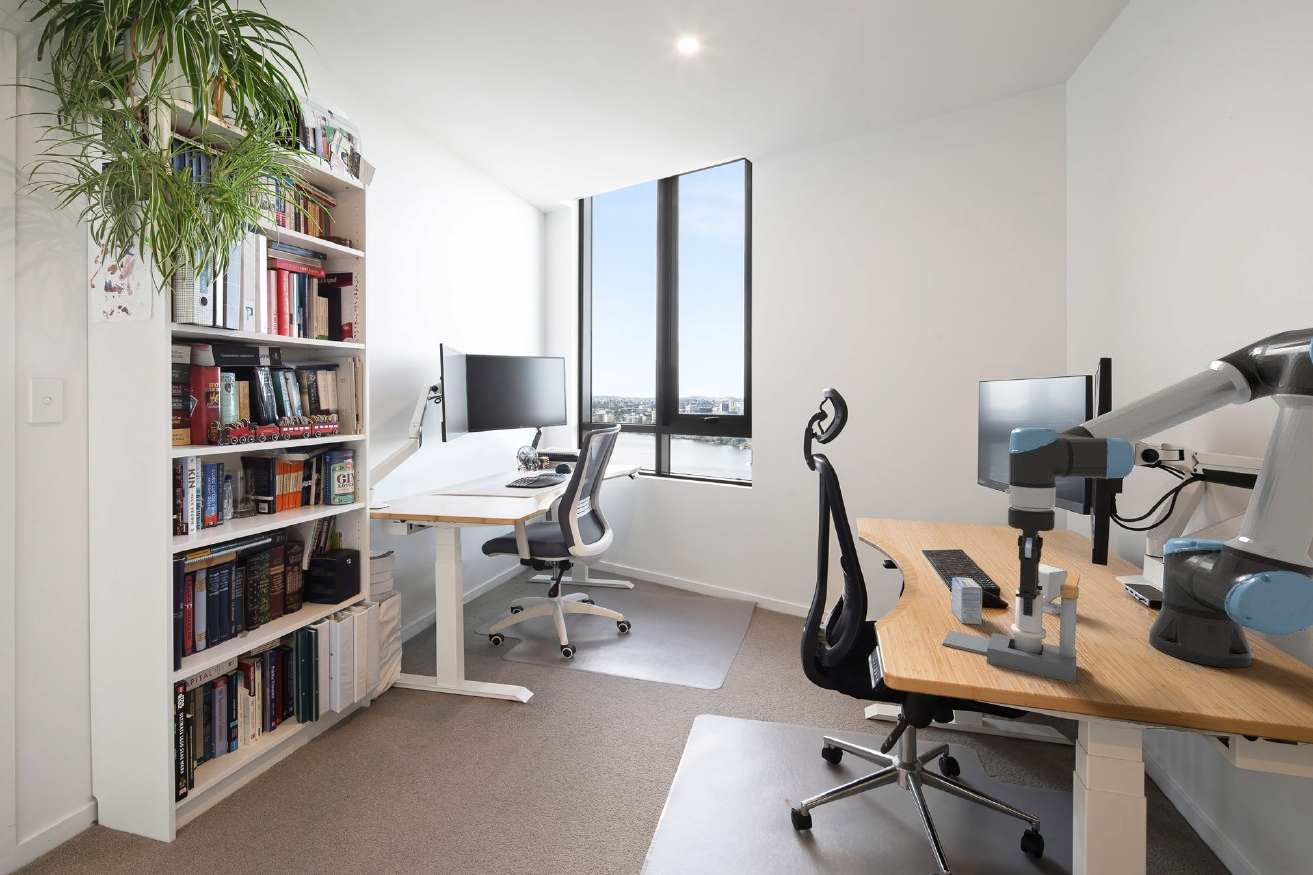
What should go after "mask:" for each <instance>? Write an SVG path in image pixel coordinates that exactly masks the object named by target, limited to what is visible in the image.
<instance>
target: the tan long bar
mask: <svg viewBox="0 0 1313 875" xmlns="http://www.w3.org/2000/svg"><path fill="white" fill-rule="evenodd" d="M1080 576H1081V574H1080V573H1078V572H1073V571H1068V576H1067V579H1066V582H1065V585H1060V596H1062V597H1065V598H1069V599H1077V600H1078V599H1079V595H1080V594H1079V592H1080V591H1079V590H1080V588H1079V583H1080Z"/></svg>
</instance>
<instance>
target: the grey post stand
mask: <svg viewBox="0 0 1313 875" xmlns="http://www.w3.org/2000/svg"><path fill="white" fill-rule="evenodd" d="M1060 604H1061V613H1060V617H1059V618H1060V619H1059V620H1060V621H1059V622H1060V623H1059V638H1058V639H1059V641H1058V642H1059V644H1058V645H1055V644H1054V645H1053V644H1048V643H1044V642H1042V653H1041V654H1040V655H1038V654H1033V653H1028V652H1024V651H1019V650H1016V649H1015V636H1010V635H1005V634H1000V633H996V632H992V634H991V637H990V638H989V639H990V642H989V645H988V647H987V655H986V664H991V665H995V666H1000V667H1002V668H1008V669H1012V670H1016V671H1019V672H1024V673H1030V674H1034V675H1038V676H1043V677H1046V678H1051V679H1055V680H1059V681H1063V682H1069V683H1072V684H1076V682H1077V649H1076V630H1077V628H1076V627H1077V611H1078V610H1077V608H1078V606H1077V605H1078V599H1069V598H1065V597H1062V596H1061V598H1060Z"/></svg>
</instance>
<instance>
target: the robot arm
mask: <svg viewBox="0 0 1313 875" xmlns="http://www.w3.org/2000/svg"><path fill="white" fill-rule="evenodd" d="M1270 396H1271V397H1270ZM1265 397H1270V398H1271V399H1272V400H1273V401H1274V403H1276V404H1277V406H1278V408H1279V411H1278V413H1277V417H1276V421H1275V423H1274V426H1273V429H1272V432H1271V435H1270V438H1269V441H1268V445H1267V447H1266V449H1265V450H1266V451H1265V453H1264V456H1263V460H1262V462H1261V466H1260V468H1259V472H1258V474H1257V478H1256V480H1255V484H1254V487H1253V490H1252V492H1251V495H1250V499H1249V501H1248V505H1247V508H1246V511H1245V515H1244V517H1243V520H1242V523H1241V526H1240V528H1239V529H1240V530H1239V532H1238V535H1236V537H1234V538H1233V537H1232V538H1231V539H1229V540H1218V539H1206V538H1205V539H1204V538H1189V537H1188V538H1187V537H1184V538H1183V537H1175V538H1174V537H1173V538H1170V539H1168V540H1167V541H1166V543H1165V547H1164V551H1163V552H1164V553H1163V577H1162V579H1163V580H1162V602H1161V609H1160V611H1159V612H1158V614H1157V616H1156V618H1155V619H1154V622H1153V624H1152V626H1151V627H1150V630H1149V634H1148V635H1149V638H1148V641H1149V644H1150V645H1151V646H1152V647H1154V648H1155V649H1156V650H1158V651H1161V652H1162V653H1164V654H1167V655H1170V656H1173V657H1175V658H1178V659H1180V660H1185V661H1188V662H1191V663H1195V664H1196V663H1197V664H1200V665H1205V666H1211V667H1217V668H1218V667H1219V668H1226V669H1227V668H1229V669H1230V668H1231V669H1239V668H1240V669H1242V668H1247V667H1249V666H1251V665H1252V659H1253V658H1252V655H1253V652H1252V649H1251V647H1250V644H1249V641H1248V638H1247V635H1246V633H1245V630H1244V628H1248V629H1252V630H1253V631H1256V632H1258V633H1262V634H1264V635H1265V634H1266V635H1270V636H1271V635H1272V636H1287V635H1288V636H1289V635H1294V634H1295V633H1298V632H1301V631H1305V630H1307V629H1309V628H1310V627H1311V626H1313V559H1312V558H1311V557H1310V555H1309V553H1308V552H1309V550H1310V549H1309V548H1310V547H1311V543H1312V540H1313V327H1309V328H1302V329H1295V330H1294V329H1293V330H1288V331H1282V332H1278V333H1275V334H1271V335H1270V336H1266V337H1264V338H1262V339H1260V340H1257V341H1255V342H1253V343H1250V344H1249V345H1246V346H1244V347H1242V348H1239V349H1238V350H1235V351H1233V352H1231V353H1228V354H1227V355H1225V356H1223V357H1220V358H1217V359H1216V360H1213V361H1212V362H1209V364H1208V365H1207V366H1206V369H1205V370H1203V371H1201V372H1199V373H1197V374H1194V375H1191V376H1189V377H1187V378H1185V379H1183V380H1181V381H1178V382H1176V383H1173V384H1172V385H1168V386H1166V387H1164V388H1162V389H1159V390H1156V391H1155V392H1152V393H1150V394H1147V395H1146V396H1143V397H1140V398H1139V399H1136V400H1134V401H1132V402H1129V403H1127V404H1124V405H1122V406H1120V407H1118V408H1115V409H1113V410H1110V411H1109V412H1108V411H1107V413H1103V414H1101V415H1099V416H1097V417H1094V418H1092V419H1090V420H1087V421H1085V422H1083V423H1081V424H1078V425H1076V426H1073V427H1071V428H1068V429H1067V430H1064V431H1062V432H1057V430H1056V429H1055V428H1053V427H1034V426H1033V427H1027V426H1026V427H1016V428H1014V429H1013V430H1012V431H1011V432H1010V437H1009V438H1010V439H1009V446H1008V457H1009V458H1008V461H1009V462H1008V464H1009V467H1008V471H1009V472H1008V474H1009V475H1008V479H1009V480H1008V487H1009V488H1006V489H1005V490H1004V493H1005V494H1006V495H1009V496H1008V504H1009V505H1010V506H1009V508H1007V509H1008V510H1007V524H1008V526H1009V527H1010V528H1012V529H1016V530H1021V531H1022V534H1021V535H1020V534H1019V535H1018V537H1017V547H1018V560H1019V562H1020V563H1019V564H1020V565H1019V567H1020V568H1019V571H1020V573H1019V587H1020V592H1019V594H1018V593H1016V592H1015V598H1016V597H1020V612H1019V630H1022V631H1027V632H1033V633H1036V617H1037V595H1036V589H1039V590H1041V591H1042V586H1038V584H1039V580H1038V576H1039V564H1040V562H1041V558H1042V549H1043V547H1044V546H1043V544H1044V538H1043V537H1041V535H1040V534H1039V532H1050V531H1053V530H1054V529H1055V524H1056V523H1055V522H1056V521H1055V520H1056V518H1055V517H1056V516H1055V515H1056V512H1055V511H1054V510H1053V509H1054V508H1055V507H1056V498H1057V497H1056V496H1057V495H1056V494H1057V493H1056V492H1057V491H1056V490H1057V489H1056V488H1057V486H1056V484H1057V482H1056V479H1057V478H1063V479H1064V478H1079V479H1080V478H1083V479H1084V478H1085V479H1087V478H1089V479H1105V480H1108V479H1120V478H1121V479H1122V478H1126V477H1127V476H1129V475H1130V474H1131V473H1132V471H1133V469H1134V467H1135V450H1134V448H1133V445H1134V444H1136V443H1138V442H1140V441H1142V440H1144V439H1147V438H1150V437H1152V436H1155V435H1158V434H1159V433H1162V432H1165V431H1166V430H1169V429H1172V428H1175V427H1177V426H1178V425H1179V426H1180V425H1181V424H1185V423H1186V422H1188V421H1191V420H1194V419H1196V418H1199V417H1201V416H1203V415H1206V414H1208V413H1210V412H1211V413H1212V412H1213V411H1216V410H1218V409H1220V408H1223V407H1225V406H1228V405H1229V404H1233V405H1238V406H1241V405H1245V404H1247V403H1249V402H1251V401H1254V400H1257V399H1261V398H1265Z"/></svg>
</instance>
